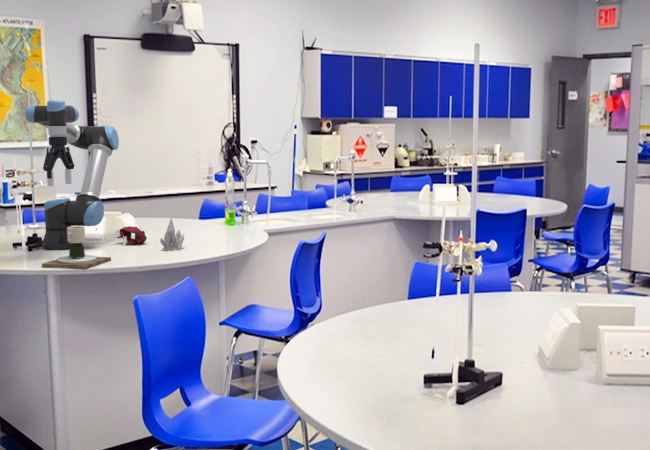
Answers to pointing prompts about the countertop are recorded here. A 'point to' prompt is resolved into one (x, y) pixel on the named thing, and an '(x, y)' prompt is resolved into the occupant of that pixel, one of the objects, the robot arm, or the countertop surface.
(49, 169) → the robot arm
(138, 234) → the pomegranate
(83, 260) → the saucer
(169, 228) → the crystal
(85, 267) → the stand
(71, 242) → the character mug
